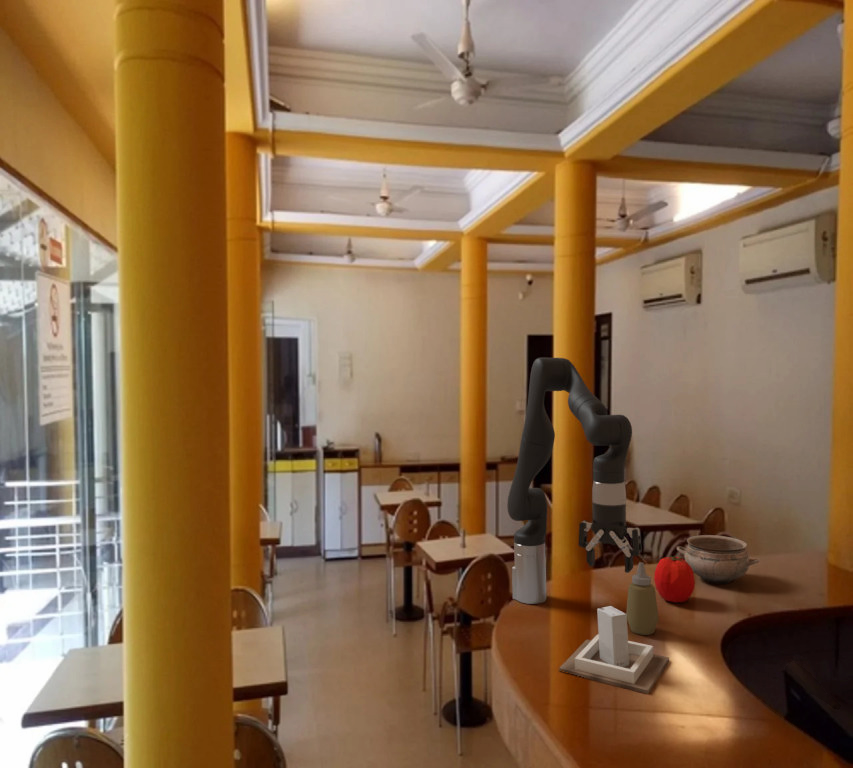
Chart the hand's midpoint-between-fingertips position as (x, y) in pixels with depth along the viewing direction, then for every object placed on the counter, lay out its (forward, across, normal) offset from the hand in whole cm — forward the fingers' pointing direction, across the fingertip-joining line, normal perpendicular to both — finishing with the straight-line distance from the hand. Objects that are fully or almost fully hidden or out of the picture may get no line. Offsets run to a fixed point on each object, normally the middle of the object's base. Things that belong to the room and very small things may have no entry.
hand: (609, 568), depth 152 cm
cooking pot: (+23, +10, +72) cm, 76 cm away
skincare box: (+22, +1, -2) cm, 22 cm away
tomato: (+23, +3, +47) cm, 53 cm away
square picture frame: (+22, +2, -2) cm, 22 cm away
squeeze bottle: (+23, +2, +21) cm, 31 cm away
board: (+22, +2, -2) cm, 22 cm away
